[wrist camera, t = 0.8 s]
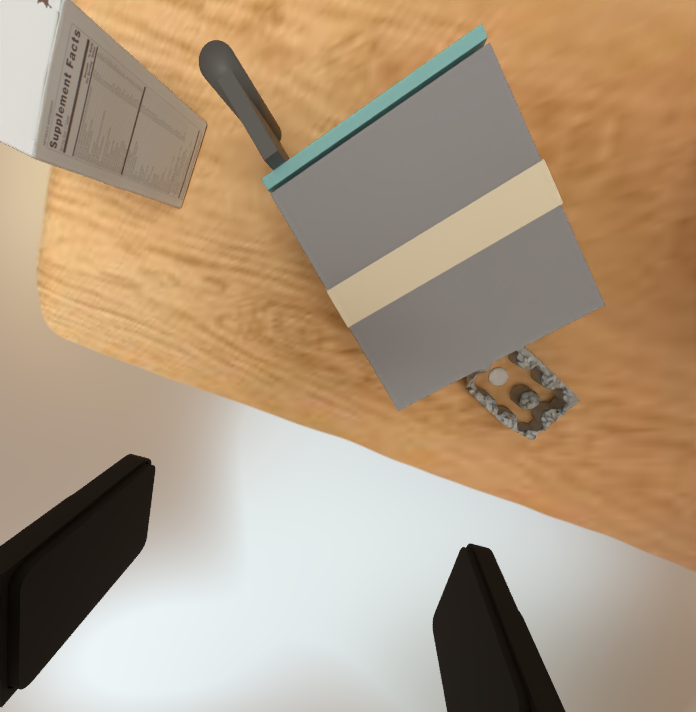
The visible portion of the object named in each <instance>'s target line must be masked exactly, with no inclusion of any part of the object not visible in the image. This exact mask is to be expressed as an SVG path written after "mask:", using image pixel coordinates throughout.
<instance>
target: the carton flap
mask: <svg viewBox="0 0 696 712" xmlns="http://www.w3.org/2000/svg"><path fill="white" fill-rule="evenodd" d="M486 39H487V35H486V33H485V30H484V28H483V26H482V24H480V25H479V26H478V27H476V28H475V29H473V30H472V31H470V32H469V33H468V34H466V35H465V36H463V37H462V38H461V39H459V40H458V41H456V42H455V43H453V44H452V45H451V46H449V47H448V48H446V49H445V50H444V51H442V52H441V53H439V54H438V55H436V56H435V57H434V58H432V59H431V60H429V61H428V62H427V63H425V64H424V65H422V66H421V67H419V68H418V69H417V70H415V71H414V72H412V73H411V74H409V75H408V76H407V77H405V78H404V79H402V80H401V81H400V82H398V83H397V84H395V85H394V86H392V87H391V88H390V89H388V90H387V91H385V92H384V93H383V94H381V95H380V96H378V97H377V98H375V99H374V100H373V101H371V102H370V103H368V104H367V105H366V106H364V107H363V108H361V109H360V110H358V111H357V112H356V113H354V114H353V115H351V116H350V117H349V118H347V119H346V120H344V121H343V122H341V123H340V124H339V125H337V126H336V127H334V128H333V129H331V130H330V131H329V132H327V133H326V134H324V135H323V136H322V137H320V138H319V139H317V140H316V141H314V142H313V143H312V144H310V145H309V146H307V147H306V148H305V149H303V150H302V151H300V152H299V153H297V154H296V155H295V156H293V157H292V158H290V159H289V157H288V156H287V154H286V152H285V150H284V149H283V147H282V145H281V143H280V140H281V130H280V127H279V126H278V124H277V122H276V121H275V119H274V118H273V116H272V114H271V113H270V111H269V109H268V108H267V106H266V104H265V103H264V101H263V100H262V98H261V96H260V95H259V93H258V91H257V90H256V88H255V87H254V85H253V83H252V82H251V80H250V78H249V77H248V75H247V73H246V72H245V70H244V69H243V67H242V65H241V64H240V62H239V60H238V59H237V57H236V56H235V54H234V52H233V51H232V49H231V48H230V47H229V45H227V44H226V43H225V42H223V41H219V40H214V41H210V42H208V43H207V44H206V45H205V46H204V47H203V48H202V50H201V52H200V56H199V67H200V70H201V73H202V75H203V76H204V77H205V79H206V80H207V81H208V82H209V83H210V85H211V86H212V87H213V88H214V89H215V91H216V92H217V93H218V94H219V95H220V97H221V98H222V99H223V100H224V101H225V103H226V104H227V105H228V106H229V107H230V109H231V110H232V111H233V112H234V113H235V115H236V116H237V117H238V118H239V119H240V121H241V122H242V123H243V125H244V126H245V128H246V130H247V132H248V133H249V135H250V137H251V138H252V140H253V142H254V144H255V145H256V147H257V149H258V150H259V152H260V154H261V156H262V157H263V159H264V161H265V162H266V163H267V164H268V165H269V166H270V167H271V168H272V169H273V171H272V172H271V173H269V174H268V175H266V176H265V177H263V178H262V181H263V183H264V184H265V186H266V188H267V189H268V191H270V192H271V193H272V192H274V191H275V190H277V189H278V188H280V187H281V186H283V185H284V184H286V183H287V182H288V181H290V180H291V179H293V178H294V177H296V176H297V175H299V174H300V173H301V172H303V171H304V170H306V169H307V168H309V167H310V166H312V165H313V164H314V163H316V162H317V161H319V160H320V159H322V158H323V157H325V156H326V155H327V154H329V153H330V152H332V151H333V150H335V149H336V148H338V147H339V146H340V145H342V144H343V143H345V142H346V141H348V140H349V139H351V138H352V137H353V136H355V135H356V134H358V133H359V132H361V131H362V130H364V129H365V128H366V127H368V126H369V125H371V124H372V123H374V122H375V121H377V120H378V119H379V118H381V117H382V116H384V115H385V114H387V113H388V112H390V111H391V110H393V109H394V108H395V107H397V106H398V105H400V104H401V103H403V102H404V101H406V100H407V99H408V98H410V97H411V96H413V95H414V94H416V93H417V92H419V91H420V90H421V89H423V88H424V87H426V86H427V85H429V84H430V83H432V82H433V81H434V80H436V79H437V78H439V77H440V76H442V75H443V74H445V73H446V72H447V71H449V70H450V69H452V68H453V67H455V66H456V65H458V64H459V63H460V62H462V61H463V60H465V59H466V58H468V57H469V56H471V55H472V54H473V53H475V52H476V51H478V50H479V49H481V48H482V47H483V46H484V44H485V41H486Z"/></svg>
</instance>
